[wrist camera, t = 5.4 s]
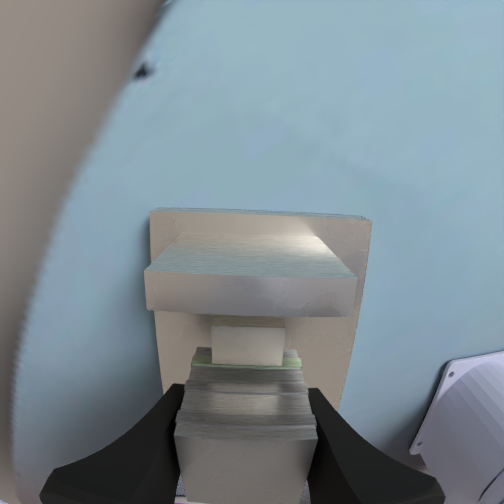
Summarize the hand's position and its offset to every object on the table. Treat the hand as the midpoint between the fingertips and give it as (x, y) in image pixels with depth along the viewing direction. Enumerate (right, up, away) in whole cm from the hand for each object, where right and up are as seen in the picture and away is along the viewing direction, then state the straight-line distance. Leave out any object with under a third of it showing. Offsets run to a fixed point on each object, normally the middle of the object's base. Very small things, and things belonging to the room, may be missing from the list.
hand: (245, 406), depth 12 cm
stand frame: (0, +1, +5) cm, 5 cm away
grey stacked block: (0, 0, +1) cm, 1 cm away
